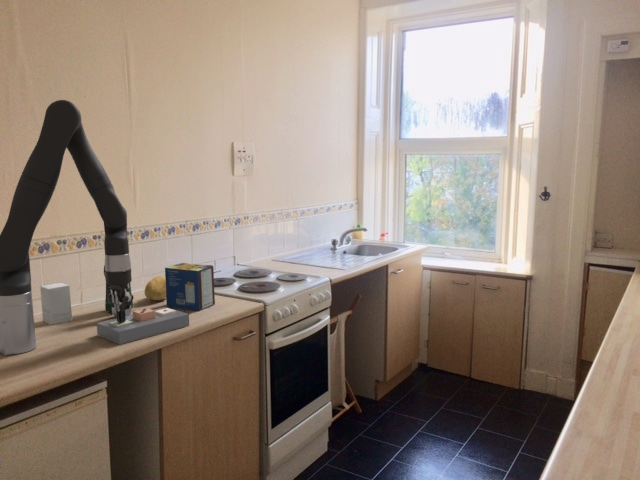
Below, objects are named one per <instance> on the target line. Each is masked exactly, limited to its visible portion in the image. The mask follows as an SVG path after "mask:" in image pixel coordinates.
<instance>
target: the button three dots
mask: <svg viewBox="0 0 640 480" xmlns="http://www.w3.org/2000/svg"><path fill="white" fill-rule="evenodd" d="M132 315H133V319H134V320H137V321H139V322H143V321H147V320H151V319H155V311H154V309H151V308H147V307H146V308H140V309H137V310H133V311H132Z"/></svg>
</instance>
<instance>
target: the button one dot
mask: <svg viewBox="0 0 640 480" xmlns="http://www.w3.org/2000/svg"><path fill="white" fill-rule="evenodd" d="M169 308H170V307H167V308H166V309H161V310H157V311H155V314H157V315H160V316H167V315H171V314H175V313H176V310H177V309H174V310H172V309H173V308H171V309H169Z"/></svg>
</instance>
